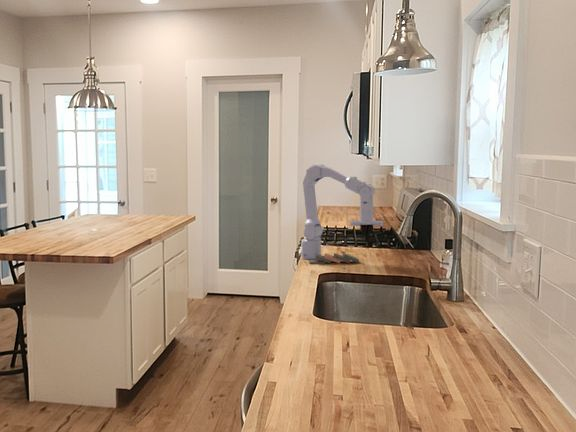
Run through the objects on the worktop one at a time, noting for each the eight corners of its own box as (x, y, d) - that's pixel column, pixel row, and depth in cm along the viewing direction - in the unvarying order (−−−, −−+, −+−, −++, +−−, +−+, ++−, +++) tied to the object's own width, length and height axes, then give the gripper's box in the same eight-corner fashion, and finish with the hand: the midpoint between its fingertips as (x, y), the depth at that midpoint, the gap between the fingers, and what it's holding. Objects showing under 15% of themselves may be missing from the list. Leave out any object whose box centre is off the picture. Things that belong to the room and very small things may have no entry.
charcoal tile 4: (329, 263, 223) (315, 258, 222) (328, 261, 227) (314, 256, 227) (331, 260, 223) (316, 255, 222) (329, 258, 227) (315, 253, 227)
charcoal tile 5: (325, 265, 223) (309, 265, 222) (324, 262, 228) (308, 263, 227) (325, 261, 223) (309, 262, 222) (324, 259, 227) (308, 259, 227)
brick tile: (339, 263, 223) (325, 258, 222) (338, 261, 228) (323, 256, 227) (340, 260, 223) (326, 255, 222) (339, 258, 228) (325, 253, 227)
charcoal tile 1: (358, 263, 223) (343, 257, 223) (356, 260, 228) (342, 255, 227) (359, 260, 223) (344, 254, 223) (357, 257, 228) (343, 252, 227)
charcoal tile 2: (349, 263, 223) (334, 258, 223) (347, 261, 228) (333, 256, 227) (350, 260, 223) (335, 255, 222) (348, 258, 228) (334, 253, 227)
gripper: (352, 212, 219) (351, 243, 220) (384, 212, 219) (384, 242, 221) (349, 211, 226) (349, 240, 227) (381, 210, 226) (380, 240, 228)
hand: (366, 241), depth 225 cm, fingers closed
